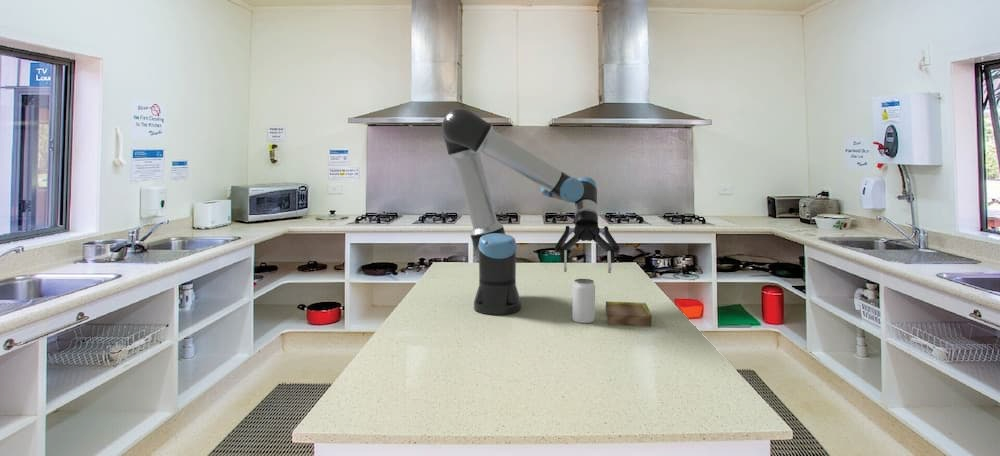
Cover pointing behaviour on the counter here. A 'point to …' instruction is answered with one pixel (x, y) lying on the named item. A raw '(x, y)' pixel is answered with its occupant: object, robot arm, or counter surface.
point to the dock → (628, 314)
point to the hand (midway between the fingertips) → (587, 270)
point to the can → (583, 301)
